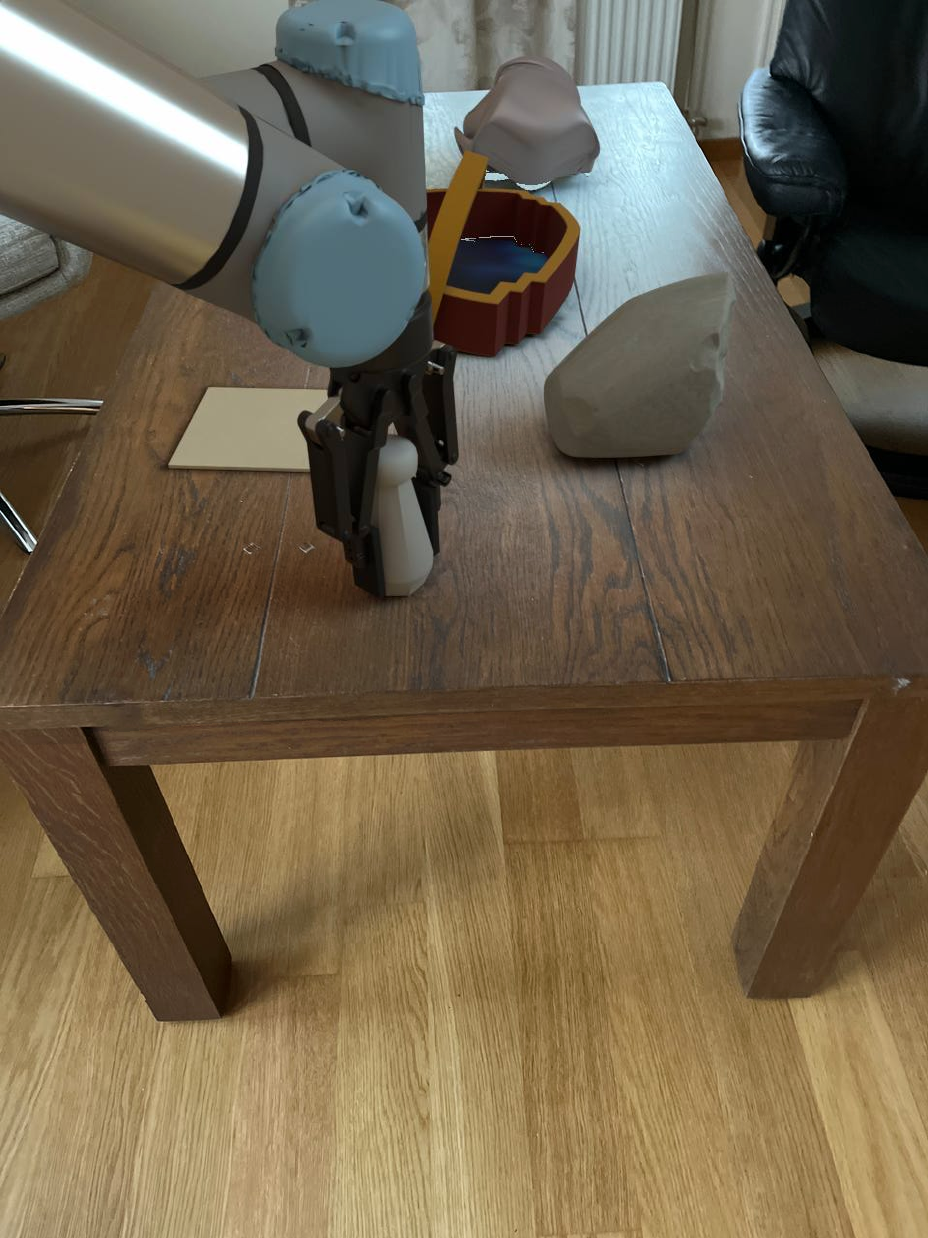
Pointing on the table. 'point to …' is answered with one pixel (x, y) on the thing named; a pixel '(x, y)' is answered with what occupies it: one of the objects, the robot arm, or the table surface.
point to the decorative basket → (495, 261)
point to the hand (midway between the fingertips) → (397, 567)
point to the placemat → (248, 430)
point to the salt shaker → (400, 519)
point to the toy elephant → (531, 124)
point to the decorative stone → (644, 373)
